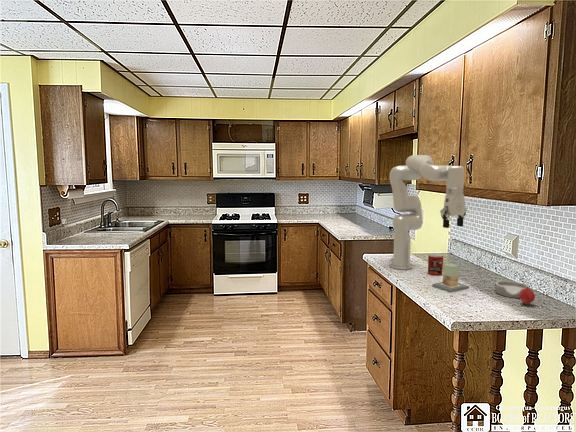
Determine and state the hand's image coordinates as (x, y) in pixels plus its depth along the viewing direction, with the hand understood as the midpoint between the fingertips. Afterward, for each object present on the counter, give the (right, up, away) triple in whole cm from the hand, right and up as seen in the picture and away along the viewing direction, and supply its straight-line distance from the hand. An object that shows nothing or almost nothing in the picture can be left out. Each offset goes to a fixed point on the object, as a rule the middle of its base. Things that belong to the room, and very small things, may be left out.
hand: (453, 226), depth 193 cm
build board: (0, -30, +4) cm, 30 cm away
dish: (+25, -32, -7) cm, 41 cm away
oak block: (0, -29, +4) cm, 29 cm away
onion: (+23, -33, -21) cm, 45 cm away
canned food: (+2, -27, +29) cm, 40 cm away
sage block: (0, -24, +3) cm, 24 cm away
